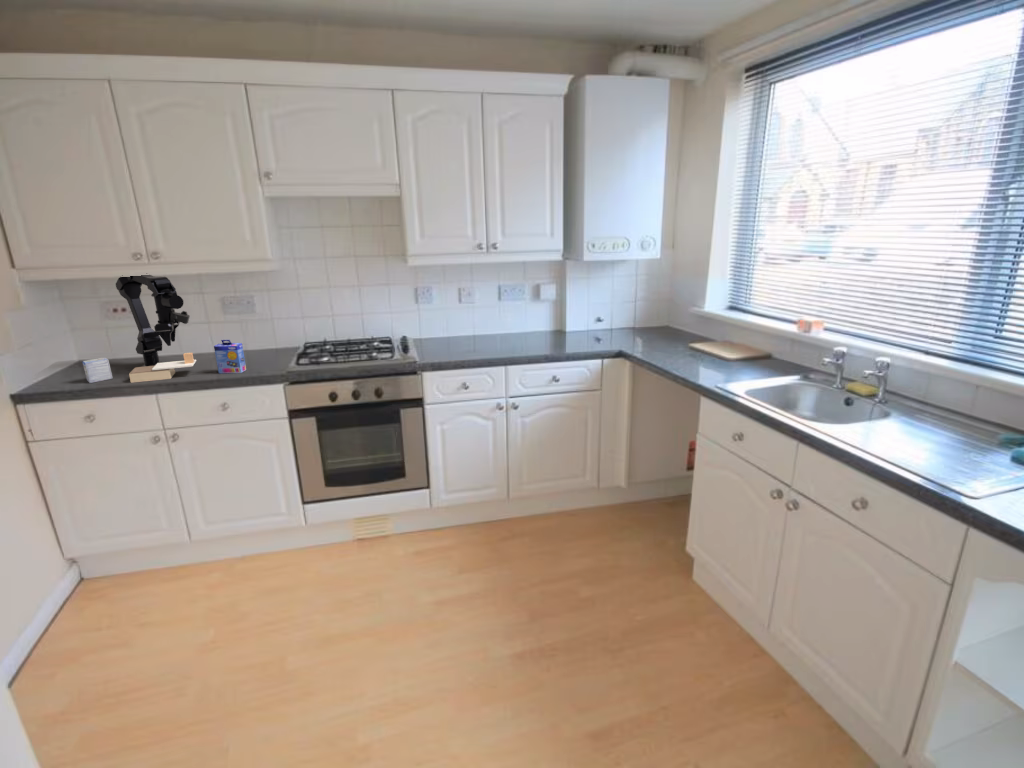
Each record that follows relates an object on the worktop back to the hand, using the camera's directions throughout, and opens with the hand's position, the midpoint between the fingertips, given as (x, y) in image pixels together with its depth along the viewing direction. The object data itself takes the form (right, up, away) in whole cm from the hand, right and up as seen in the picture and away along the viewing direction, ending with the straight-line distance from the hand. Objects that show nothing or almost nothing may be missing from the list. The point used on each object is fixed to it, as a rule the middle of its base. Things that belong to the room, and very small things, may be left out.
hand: (171, 343), depth 231 cm
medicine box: (-23, -16, -9) cm, 30 cm away
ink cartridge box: (+26, -12, 0) cm, 29 cm away
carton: (-3, -15, -7) cm, 17 cm away
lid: (+5, -10, -5) cm, 12 cm away
